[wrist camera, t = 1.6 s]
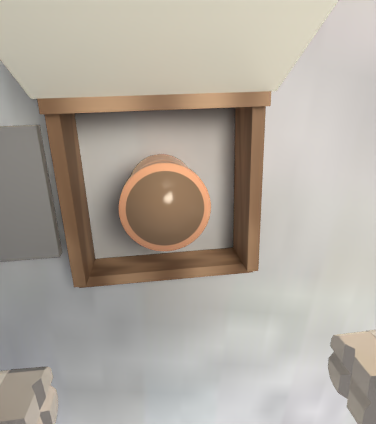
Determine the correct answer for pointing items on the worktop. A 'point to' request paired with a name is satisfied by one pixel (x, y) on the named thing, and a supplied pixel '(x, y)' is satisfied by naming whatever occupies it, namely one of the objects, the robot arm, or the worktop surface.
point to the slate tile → (26, 197)
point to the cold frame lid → (154, 45)
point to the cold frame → (166, 262)
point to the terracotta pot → (164, 204)
